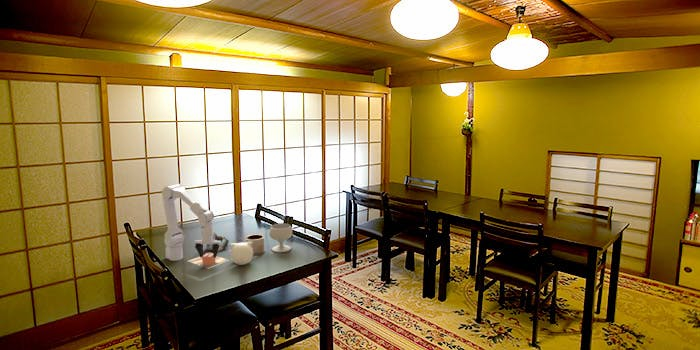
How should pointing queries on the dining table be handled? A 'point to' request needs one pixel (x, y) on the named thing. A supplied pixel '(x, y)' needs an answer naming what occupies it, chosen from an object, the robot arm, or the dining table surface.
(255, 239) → the planter
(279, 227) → the chalice
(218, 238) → the lucky cat figurine
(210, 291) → the dining table surface
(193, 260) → the board
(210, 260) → the strapped orange box
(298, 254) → the dining table surface
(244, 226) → the dining table surface
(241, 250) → the cat head
